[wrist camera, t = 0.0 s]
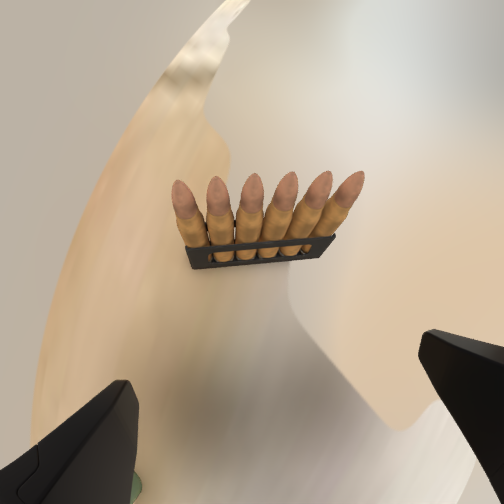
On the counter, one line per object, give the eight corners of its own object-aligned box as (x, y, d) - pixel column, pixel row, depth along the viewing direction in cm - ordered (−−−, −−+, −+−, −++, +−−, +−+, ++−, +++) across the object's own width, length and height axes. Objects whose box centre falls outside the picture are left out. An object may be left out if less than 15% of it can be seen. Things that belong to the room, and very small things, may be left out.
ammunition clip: (192, 269, 23) (155, 202, 12) (191, 248, 24) (157, 167, 13) (319, 257, 24) (383, 188, 13) (316, 237, 25) (373, 157, 14)
